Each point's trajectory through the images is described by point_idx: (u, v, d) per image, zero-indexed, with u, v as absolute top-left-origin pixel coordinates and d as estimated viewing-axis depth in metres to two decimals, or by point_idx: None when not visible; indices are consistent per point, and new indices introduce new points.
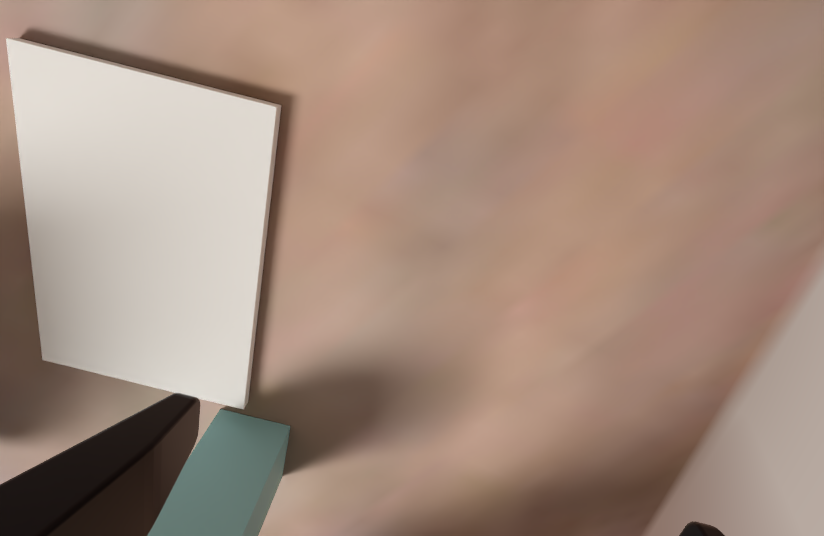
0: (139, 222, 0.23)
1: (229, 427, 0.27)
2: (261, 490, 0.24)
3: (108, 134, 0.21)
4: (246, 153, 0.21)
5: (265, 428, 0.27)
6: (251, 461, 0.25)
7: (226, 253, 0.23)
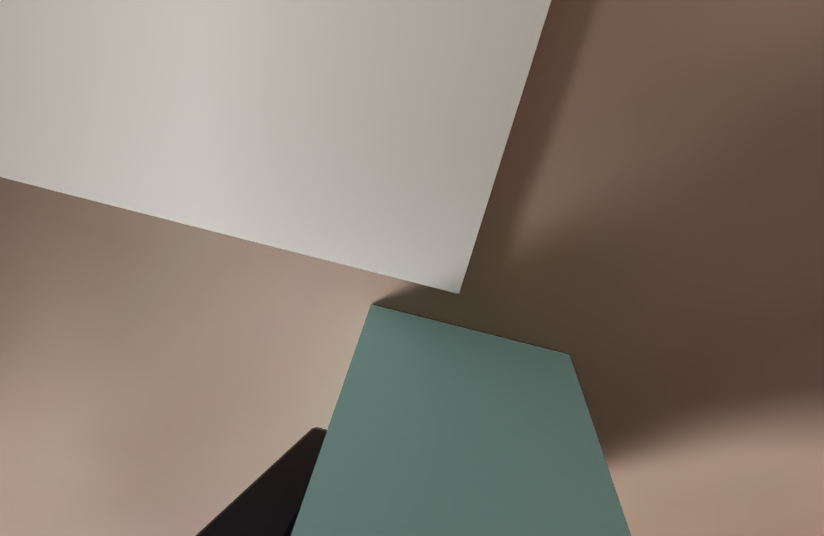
0: None
1: (416, 349, 0.09)
2: None
3: None
4: None
5: (512, 356, 0.09)
6: (535, 449, 0.07)
7: None
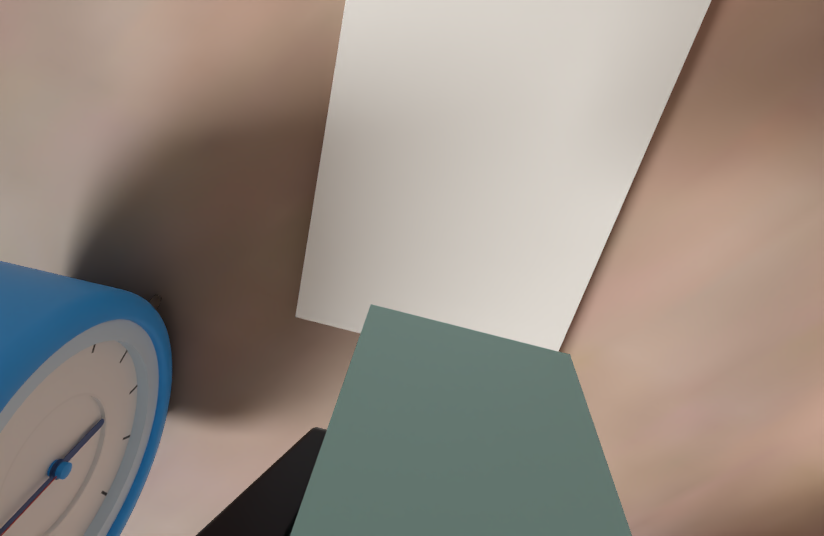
0: (482, 126, 0.17)
1: (416, 348, 0.09)
2: None
3: None
4: (665, 23, 0.16)
5: (512, 356, 0.09)
6: (536, 450, 0.07)
7: (590, 168, 0.18)
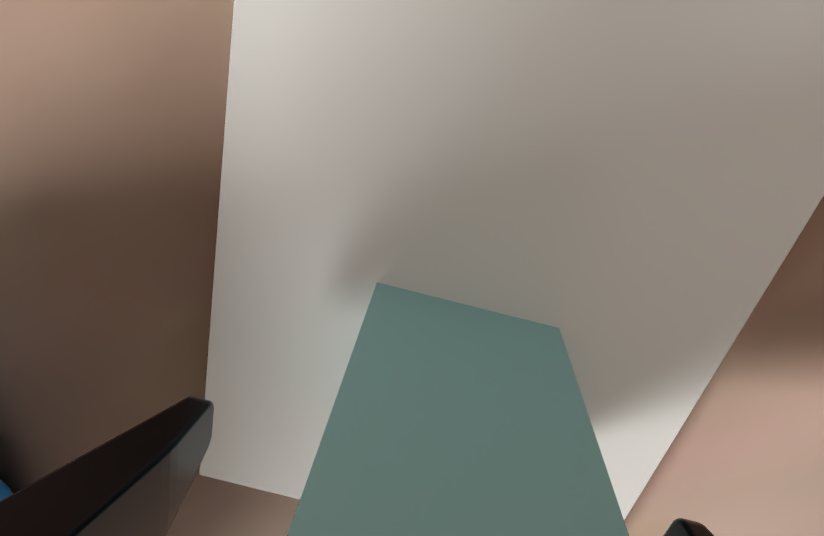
0: (498, 195, 0.10)
1: (418, 320, 0.10)
2: (612, 497, 0.07)
3: None
4: None
5: (506, 328, 0.10)
6: (525, 404, 0.08)
7: (690, 268, 0.10)
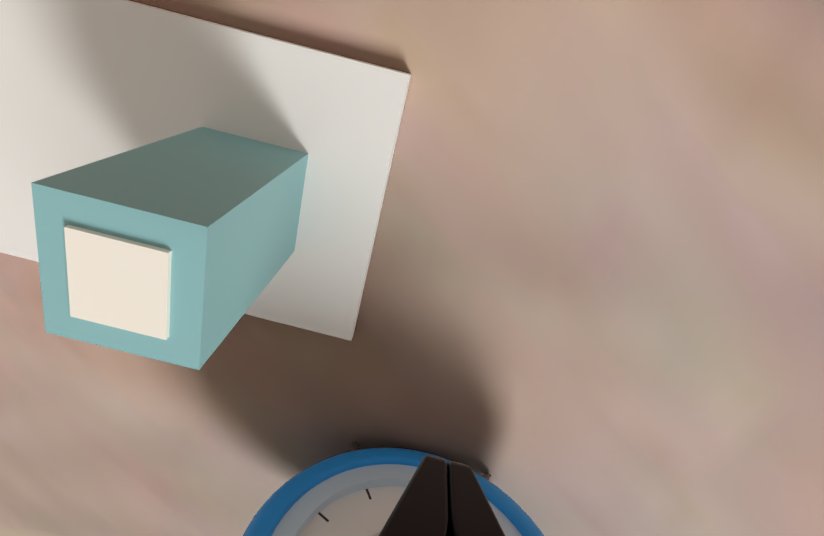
0: None
1: None
2: (131, 151, 0.14)
3: (44, 173, 0.20)
4: (11, 4, 0.17)
5: None
6: None
7: (149, 56, 0.17)
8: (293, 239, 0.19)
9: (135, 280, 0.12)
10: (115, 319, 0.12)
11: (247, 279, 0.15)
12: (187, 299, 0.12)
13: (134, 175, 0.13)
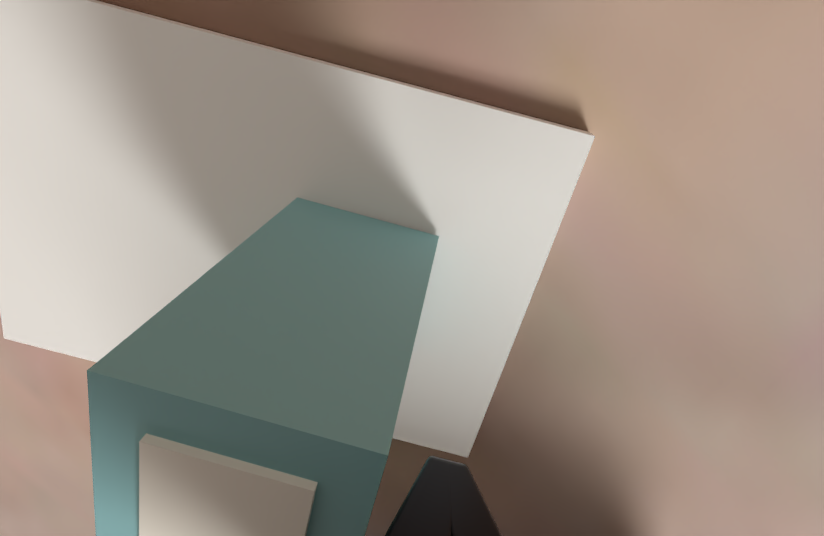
0: (204, 243, 0.15)
1: None
2: (222, 261, 0.10)
3: (81, 251, 0.15)
4: (44, 34, 0.13)
5: None
6: None
7: (232, 106, 0.13)
8: None
9: (251, 523, 0.07)
10: None
11: None
12: None
13: (240, 321, 0.08)
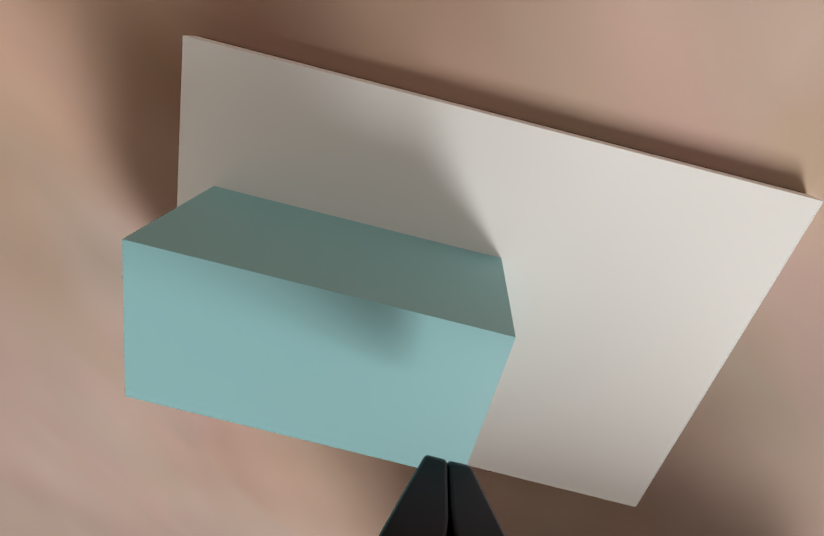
0: None
1: None
2: (344, 220, 0.14)
3: None
4: (265, 101, 0.12)
5: None
6: None
7: (449, 171, 0.13)
8: (452, 453, 0.11)
9: None
10: None
11: (252, 384, 0.11)
12: None
13: (266, 217, 0.12)
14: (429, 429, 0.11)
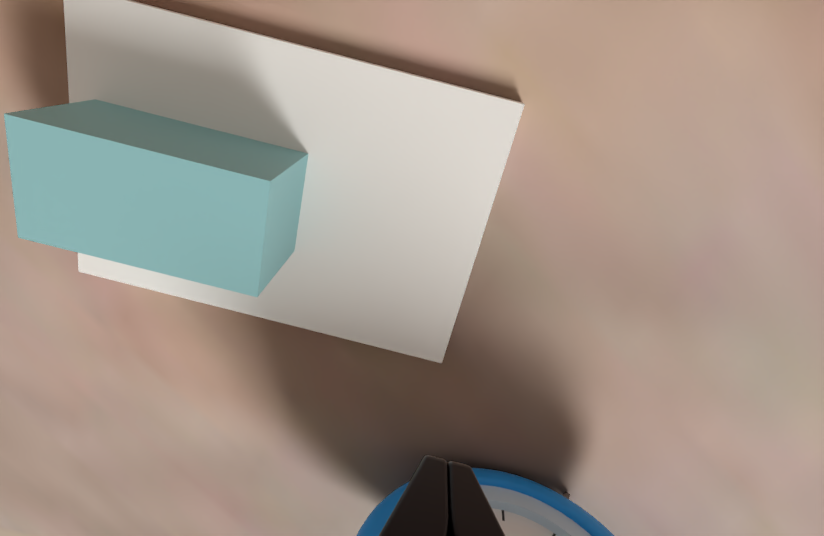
0: None
1: None
2: (192, 125, 0.18)
3: None
4: (125, 33, 0.17)
5: None
6: None
7: (261, 85, 0.18)
8: (247, 276, 0.16)
9: None
10: None
11: (104, 224, 0.16)
12: None
13: (125, 116, 0.17)
14: (228, 257, 0.16)
